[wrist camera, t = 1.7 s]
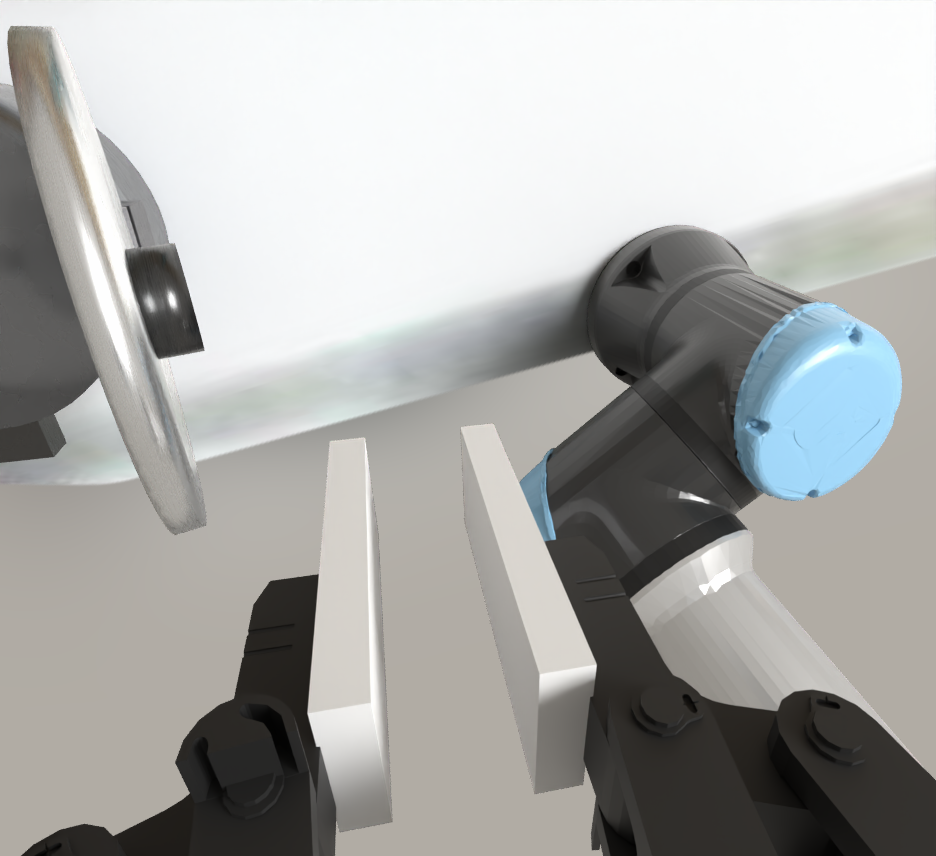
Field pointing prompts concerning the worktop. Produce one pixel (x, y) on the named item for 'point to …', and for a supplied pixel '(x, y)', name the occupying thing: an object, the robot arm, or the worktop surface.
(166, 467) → the lid
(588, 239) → the worktop surface
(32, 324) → the pot
